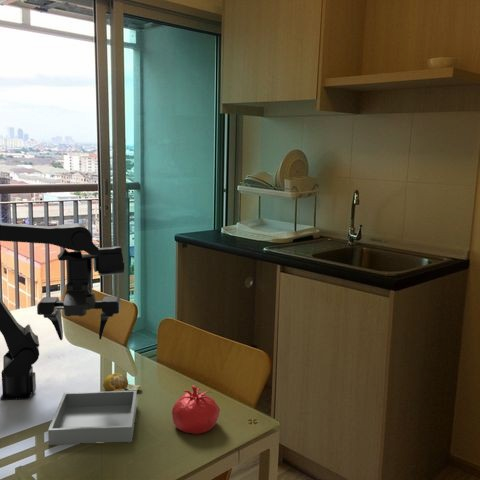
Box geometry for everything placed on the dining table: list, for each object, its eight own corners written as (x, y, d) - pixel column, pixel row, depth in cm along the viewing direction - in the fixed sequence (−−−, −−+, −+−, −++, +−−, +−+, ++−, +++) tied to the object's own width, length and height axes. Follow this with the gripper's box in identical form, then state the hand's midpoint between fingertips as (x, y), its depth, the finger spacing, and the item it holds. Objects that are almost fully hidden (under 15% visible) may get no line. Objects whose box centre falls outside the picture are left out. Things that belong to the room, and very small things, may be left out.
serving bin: (48, 449, 105) (48, 430, 105) (64, 409, 121) (63, 392, 120) (132, 445, 107) (131, 426, 107) (136, 406, 123) (136, 390, 122)
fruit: (117, 400, 125) (116, 385, 124) (94, 392, 129) (93, 377, 129) (143, 387, 131) (143, 373, 131) (120, 380, 136) (119, 366, 136)
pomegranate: (200, 445, 108) (201, 402, 107) (162, 430, 113) (162, 389, 112) (228, 424, 116) (229, 384, 115) (191, 411, 122) (191, 372, 120)
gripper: (29, 286, 119) (32, 353, 122) (116, 285, 121) (117, 351, 124) (41, 274, 130) (44, 335, 133) (120, 273, 132) (121, 334, 135)
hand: (81, 339), depth 131 cm, fingers open, 9 cm apart
